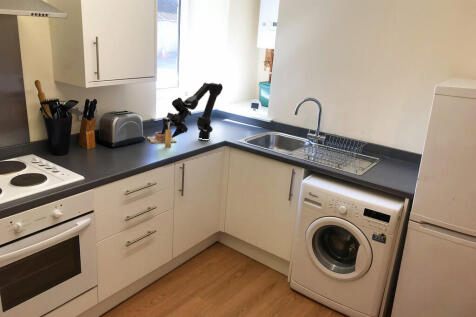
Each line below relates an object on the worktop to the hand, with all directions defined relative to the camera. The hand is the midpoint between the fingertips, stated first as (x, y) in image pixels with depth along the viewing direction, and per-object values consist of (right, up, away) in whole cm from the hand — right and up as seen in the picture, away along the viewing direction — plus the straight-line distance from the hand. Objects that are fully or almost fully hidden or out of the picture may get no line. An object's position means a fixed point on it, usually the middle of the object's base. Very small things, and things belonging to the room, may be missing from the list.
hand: (166, 135), depth 243 cm
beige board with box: (-6, -2, +15) cm, 16 cm away
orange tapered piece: (0, -7, +3) cm, 7 cm away
